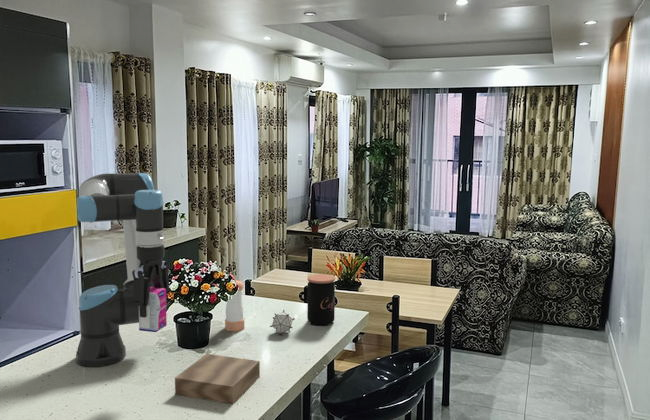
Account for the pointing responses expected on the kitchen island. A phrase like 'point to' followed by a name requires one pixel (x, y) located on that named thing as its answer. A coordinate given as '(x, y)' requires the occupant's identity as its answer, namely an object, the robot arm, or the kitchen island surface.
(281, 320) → the spiky geometric ball
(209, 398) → the block
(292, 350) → the kitchen island surface
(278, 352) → the kitchen island surface
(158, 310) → the supplement box
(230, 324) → the pepper shaker
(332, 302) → the coffee jar
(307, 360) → the kitchen island surface
